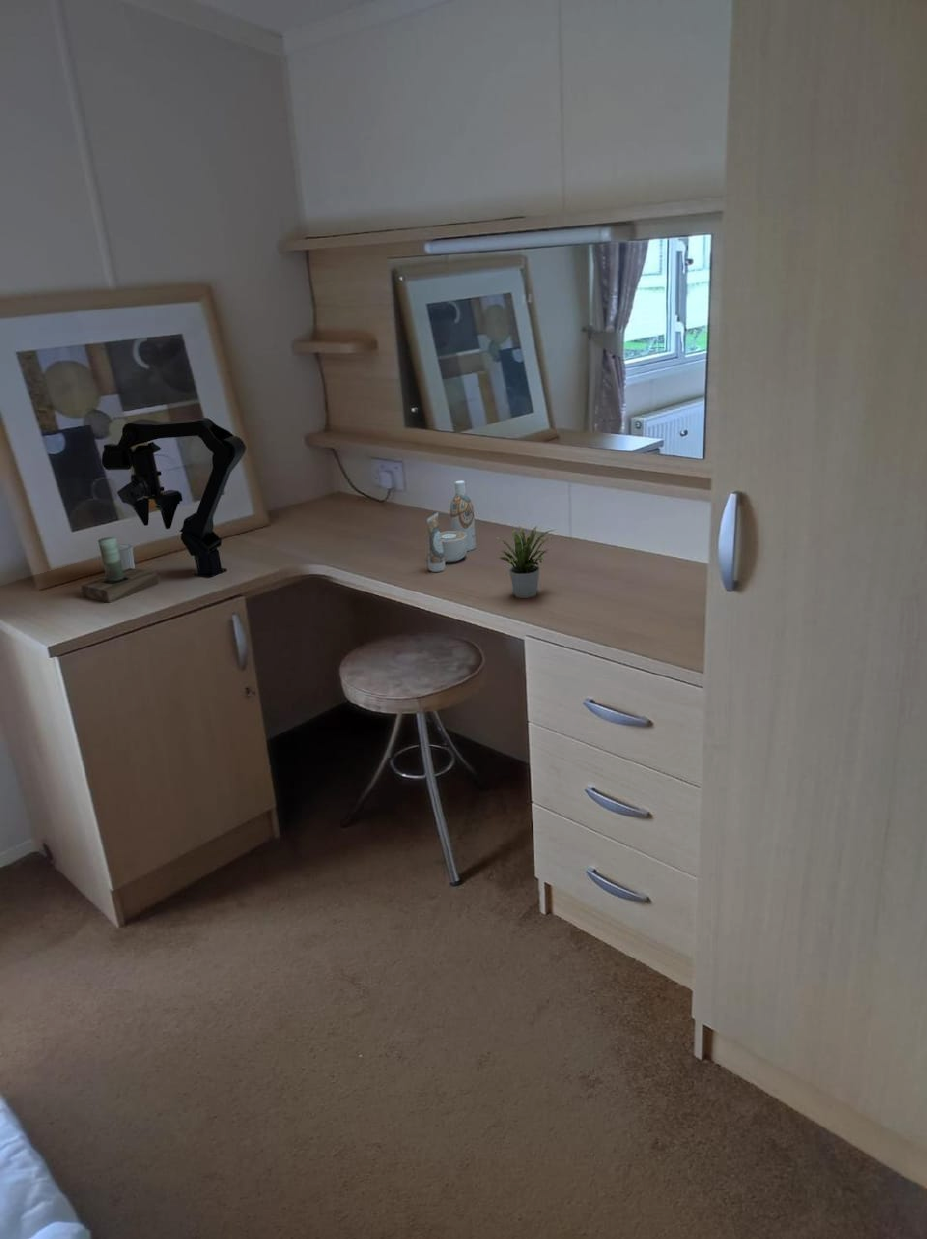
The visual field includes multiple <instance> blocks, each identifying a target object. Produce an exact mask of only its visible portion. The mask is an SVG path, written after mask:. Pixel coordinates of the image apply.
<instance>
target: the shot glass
mask: <svg viewBox="0 0 927 1239" xmlns="http://www.w3.org/2000/svg"><path fill="white" fill-rule="evenodd" d="M117 547H118V551H119V556H120V560H121V565H122V569H123V570H126V569H128V568H133V569H136V566H135V564H136V563H135V558H134V551H133V550H134V548H133V545H132V544H129V543H127V544H126V543H124V544H117Z"/></svg>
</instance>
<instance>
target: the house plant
mask: <svg viewBox="0 0 927 1239" xmlns="http://www.w3.org/2000/svg"><path fill="white" fill-rule="evenodd" d="M518 528H519V529H517V531H518V532H519V534H518V533H517V531H516V530H515V529H513V528H511V531H512V536H513V542H514V546H515V547H514V549H513V548H512V547H511V546H510V545H509V544H508V543H507V542H506V541H505V540H503V538H500V537H498V536H495V535H494V536H493V537H494V538H497V539H499V540H500V541H501V542H502V543H503V544H504V545H505V546H506V547H507V548H508V549H509V551H510V552H511V553H512V554H513V555H511V554H510V553H508V551H506V550H502V549H501V552H502V553H504V555H505V556H506V557H505V556H501V557H498V559H499V560H502V561H505V562H507V563H508V564H509V563H510V564H511V565H512V566H510V567H509V569H508V571H509V577H510V580H511V586H512V590H513V594H514V597H516V598H521V599H529V598H532V597H535V596H536V595H537V591H538V585H539V583H538V582H539V576H540V567H539V562H540V563H541V562H542V560H543V557H542V555H544V554H545V553H546V554H548V551H549V550H551V548H546V549H544V550H539V549H540V548H541V546H543V544H544V543H545V542H548V541H549V540H552V539H553V538H551V537H550V538H546V539H542V538H543V537H544V536H546V535H547V534H548V533H550V532H554V531H555V530H554V529H551V530H548V531H545V532H542V534H541V535H539V536H538V537H537V538H536V540H535V542H533V541H534V539H535V536H536V530H537V526H535V527H533V529H532V530H531V532H530V535H529V536H528V537H527V538H526V535H525V532H524V530H523V528H522V527H521V526H520V525H518ZM539 541H540V544H539ZM541 541H542V542H541ZM533 543H534V544H533ZM537 544H539V545H538V546H537ZM535 547H537V549H535ZM534 549H535V552H534V553H533V551H534ZM552 549H554V548H553V547H552ZM538 554H539V555H538ZM537 555H538V557H537V558H535V557H536V556H537ZM513 556H514V557H513ZM515 558H516V559H515ZM537 561H538V562H537Z"/></svg>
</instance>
